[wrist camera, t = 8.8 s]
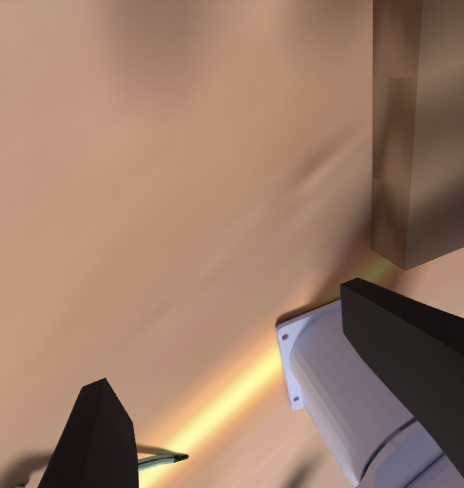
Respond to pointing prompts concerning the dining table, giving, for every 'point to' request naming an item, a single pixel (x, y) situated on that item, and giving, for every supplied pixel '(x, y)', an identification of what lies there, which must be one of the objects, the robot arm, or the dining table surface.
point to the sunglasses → (154, 461)
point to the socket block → (418, 129)
